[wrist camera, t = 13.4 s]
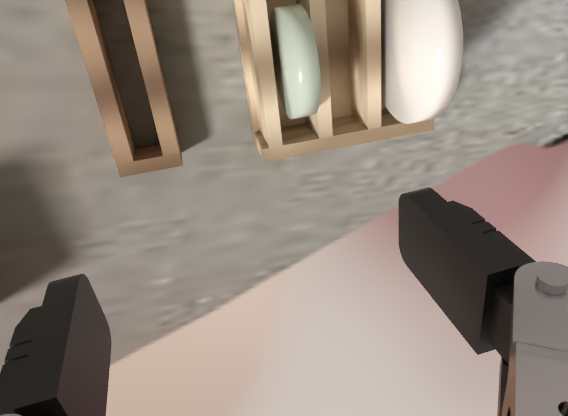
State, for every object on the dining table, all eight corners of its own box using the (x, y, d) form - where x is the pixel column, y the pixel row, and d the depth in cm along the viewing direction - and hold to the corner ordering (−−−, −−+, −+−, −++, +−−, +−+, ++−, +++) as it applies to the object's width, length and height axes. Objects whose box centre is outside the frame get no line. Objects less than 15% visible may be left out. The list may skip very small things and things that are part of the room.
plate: (372, 107, 37) (436, 140, 28) (365, -36, 33) (439, -51, 24) (390, 104, 37) (460, 136, 28) (386, -38, 33) (466, -55, 24)
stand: (66, -24, 30) (58, -22, 28) (138, -33, 30) (136, -32, 28) (122, 163, 36) (120, 177, 34) (181, 153, 37) (182, 165, 35)
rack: (226, -44, 31) (235, -44, 27) (409, -68, 33) (443, -70, 29) (253, 139, 38) (264, 162, 34) (405, 111, 40) (433, 129, 36)
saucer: (277, 102, 35) (300, 133, 29) (265, 2, 32) (289, 14, 26) (296, 99, 36) (323, 129, 30) (287, -1, 32) (315, 10, 26)
